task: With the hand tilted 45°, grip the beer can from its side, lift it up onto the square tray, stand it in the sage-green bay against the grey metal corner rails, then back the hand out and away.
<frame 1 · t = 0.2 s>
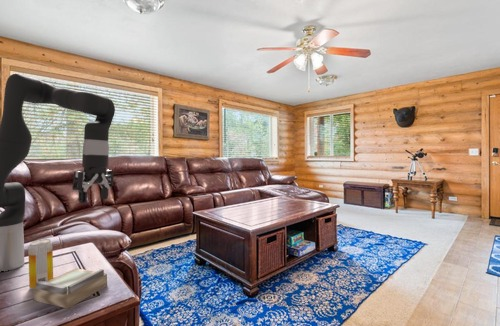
hand: (93, 201, 83), 28 cm above the table, tool pointing down, fingers open, 8 cm apart
beer can: (41, 286, 81), on the table
square tray: (72, 292, 77), on the table
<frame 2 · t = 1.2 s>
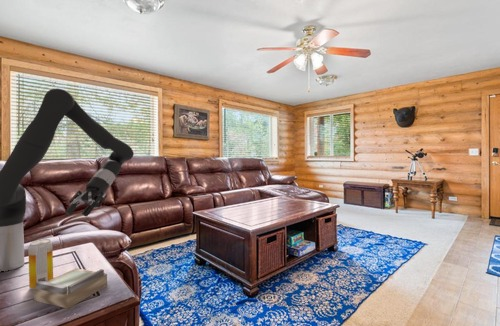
hand: (75, 214, 92), 21 cm above the table, tool tilted 45°, fingers open, 8 cm apart
nothing on the table moved.
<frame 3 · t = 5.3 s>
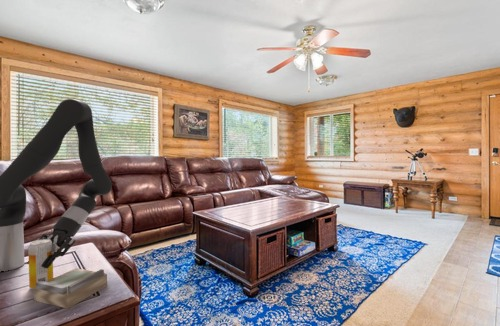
hand: (37, 265, 80), 7 cm above the table, tool tilted 45°, fingers closed on beer can, 6 cm apart
beer can: (41, 286, 81), on the table, touching gripper
when the fingers open (13 cm above the table, at t = 10.7 s): beer can stays where it is, resting on square tray.
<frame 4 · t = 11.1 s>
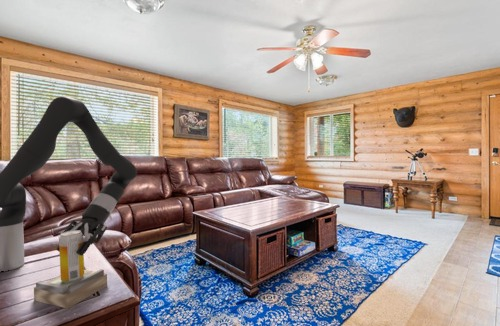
hand: (69, 252, 76), 13 cm above the table, tool tilted 45°, fingers open, 8 cm apart
beer can: (72, 279, 77), point 4 cm above the table, touching square tray
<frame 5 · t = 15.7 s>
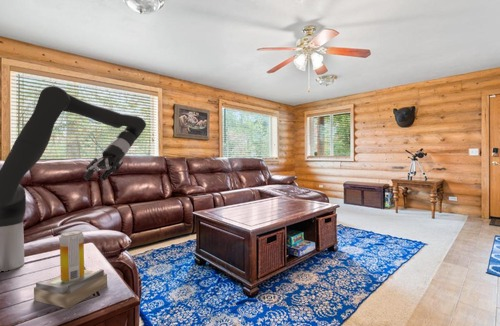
hand: (93, 179, 95), 35 cm above the table, tool tilted 45°, fingers open, 8 cm apart
nothing on the table moved.
at the end: beer can inside the target area on the square tray (0.2 cm from its centre), point 4.0 cm above the square tray's base; beer can tilted 0°; the gripper is holding nothing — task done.
